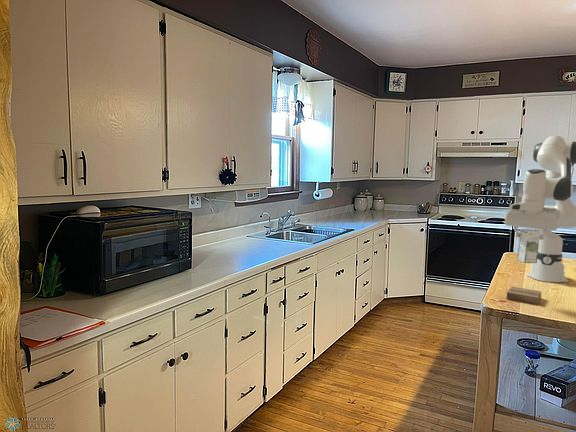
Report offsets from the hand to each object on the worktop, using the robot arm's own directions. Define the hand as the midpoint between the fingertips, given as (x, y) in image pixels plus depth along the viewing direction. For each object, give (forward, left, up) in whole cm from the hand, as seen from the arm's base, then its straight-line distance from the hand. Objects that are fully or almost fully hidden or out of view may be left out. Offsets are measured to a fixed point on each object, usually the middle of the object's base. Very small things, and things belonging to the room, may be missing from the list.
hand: (529, 238), depth 188 cm
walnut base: (0, 0, -27) cm, 27 cm away
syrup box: (0, 0, -11) cm, 11 cm away
